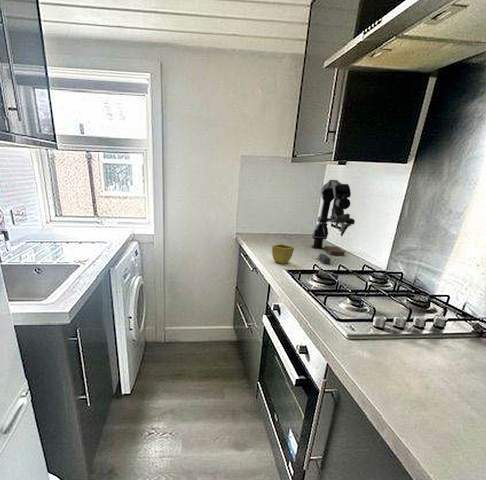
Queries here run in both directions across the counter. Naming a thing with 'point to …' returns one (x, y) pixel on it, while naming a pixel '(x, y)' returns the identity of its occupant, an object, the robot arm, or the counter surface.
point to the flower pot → (282, 253)
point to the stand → (334, 250)
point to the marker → (324, 258)
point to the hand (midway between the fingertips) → (333, 235)
